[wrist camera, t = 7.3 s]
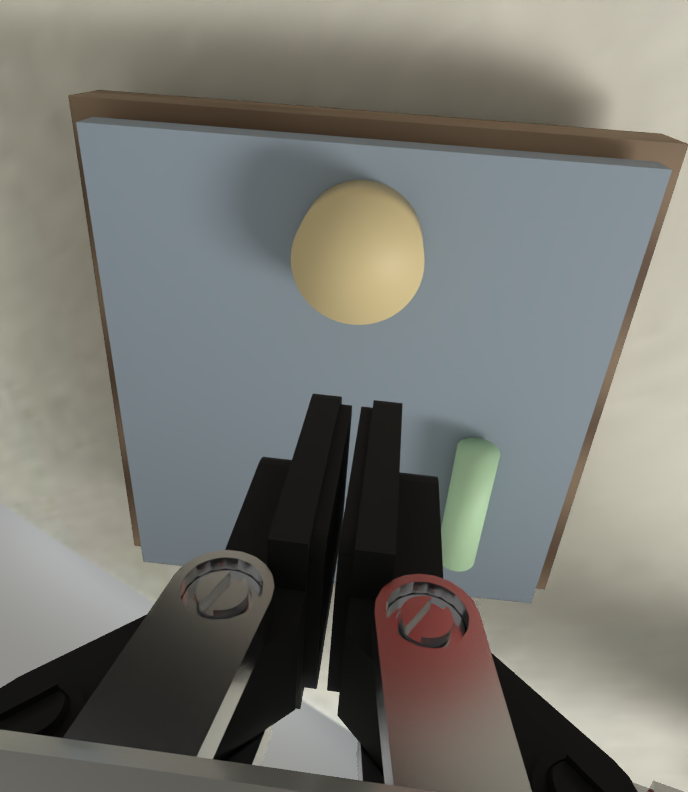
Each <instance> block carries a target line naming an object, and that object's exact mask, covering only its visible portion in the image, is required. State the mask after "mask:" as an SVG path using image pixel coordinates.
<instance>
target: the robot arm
mask: <svg viewBox="0 0 688 792" xmlns="http://www.w3.org/2000/svg"><path fill="white" fill-rule="evenodd" d="M402 404H403V403H396V402H387V401H378V400H374V401H373V408H371V407H362V406H361V412H360V418H359V424H358V430H357V436H356V443H355V449H354V455H353V461H352V468H351V474H350V480H349V486H348V493H347V499H346V505H345V511H344V503H345V491H346V478H347V466H348V454H349V442H350V430H351V418H352V405H344V404H342V397H341V396H331V395H322V394H312V397H311V400H310V403H309V407H308V410H307V413H306V416H305V419H304V423H303V426H302V429H301V432H300V436H299V439H298V442H297V445H296V448H295V452H294V455H293V458H292V460H288V459H279V458H270V457H262V458H261V460H260V462H259V464H258V466H257V469H256V471H255V474H254V477H253V479H252V482H251V484H250V487H249V489H248V492H247V495H246V497H245V500H244V502H243V505H242V507H241V510H240V513H239V515H238V518H237V520H236V523H235V525H234V528H233V531H232V533H231V536H230V538H229V541H228V543H227V546H226V549H225V550H222V551H212V552H209V553H206V554H203V555H200V556H197V557H195V558H194V559H192V560H190V561H189V562H187V563H186V564H184V565H183V566H182V567H181V568H180V569H179V570H178V571H177V573H176V574H175V575H174V576H173V578H172V579H171V581H170V582H169V583H168V585H167V586H166V588H165V589H164V591H163V592H162V594H161V595H160V597H159V598H158V599H157V601H156V602H155V604H154V605H153V607H152V608H151V610H150V611H149V613H148V614H147V615H145V616H143V617H141V618H139V619H137V620H135V621H133V622H131V623H129V624H126V625H124V626H122V627H120V628H118V629H116V630H114V631H112V632H110V633H108V634H106V635H104V636H102V637H100V638H98V639H96V640H94V641H92V642H89V643H87V644H86V645H83V646H81V647H79V648H77V649H75V650H73V651H71V652H69V653H67V654H65V655H63V656H61V657H59V658H57V659H55V660H52V661H50V662H48V663H47V664H44V665H42V666H40V667H38V668H36V669H34V670H32V671H30V672H28V673H26V674H24V675H22V676H20V677H18V678H16V679H15V680H13V681H11V682H10V683H8V684H6V685H5V686H3V687H2V688H0V792H683V791H681V790H678V789H675V788H672V787H670V786H667V785H664V784H661V783H658V782H656V781H653V782H652V784H651V786H650V788H647V787H644V786H641V785H638V784H636V783H633V782H632V781H631V779H630V778H629V776H628V775H627V774H626V773H625V772H624V771H623V770H622V769H621V768H620V767H619V766H618V764H617V763H616V762H615V761H614V760H613V759H612V758H611V757H609V756H608V755H607V754H606V753H605V752H604V751H603V750H601V749H600V748H599V747H598V746H597V745H596V744H595V743H593V742H592V741H591V740H590V739H589V738H588V737H587V736H585V735H584V734H583V733H582V732H581V731H580V730H579V729H577V728H576V727H575V726H574V725H573V724H572V723H571V722H569V721H568V720H567V719H566V718H565V717H564V716H563V715H561V714H560V713H559V712H558V711H557V710H556V709H555V708H554V707H552V706H551V705H550V704H549V703H548V702H547V701H546V700H544V699H543V698H542V697H541V696H540V695H539V694H538V693H536V692H535V691H534V690H533V689H532V688H531V687H530V686H528V685H527V684H526V683H525V682H524V681H523V680H522V679H520V678H519V677H518V676H517V675H516V674H515V673H514V672H512V671H511V670H510V669H509V668H508V667H507V666H506V665H505V664H503V663H502V662H501V661H500V660H499V659H498V658H497V657H495V656H494V655H493V654H492V653H491V651H490V648H489V644H488V641H487V637H486V634H485V631H484V627H483V624H482V620H481V617H480V614H479V612H478V610H477V607H476V605H475V603H474V601H473V600H472V599H471V598H470V597H469V596H468V595H467V594H466V592H465V591H464V590H463V589H461V588H460V587H458V586H456V585H455V584H453V583H452V582H450V581H448V580H445V579H443V560H442V540H441V519H440V498H439V481H438V477H436V476H428V475H419V474H410V473H401V472H400V451H401V428H402ZM343 515H344V517H343ZM337 559H338V562H337ZM336 565H337V574H336V586H335V599H334V611H333V624H332V636H331V648H330V661H329V673H328V686H327V690H328V691H336V692H340V695H339V705H338V717H339V718H340V719H341V720H342V722H343V723H344V724H345V725H346V726H347V728H348V729H349V730H350V731H351V732H352V734H353V735H354V736H355V737H356V738H357V740H358V745H357V767H358V780H353V779H346V778H339V777H332V776H325V775H318V774H311V773H304V772H298V771H291V770H284V769H277V768H270V767H263V766H261V763H262V761H263V758H264V755H265V752H266V750H267V747H268V745H269V742H270V738H271V733H272V726H273V724H274V723H276V722H277V721H279V720H280V719H282V718H283V717H285V716H286V715H288V714H289V713H291V712H292V711H294V710H295V708H297V709H300V707H301V702H302V696H303V691H304V687H306V688H314V689H316V688H317V684H318V678H319V672H320V665H321V659H322V653H323V646H324V640H325V634H326V628H327V621H328V615H329V609H330V602H331V596H332V590H333V584H334V577H335V571H336Z"/></svg>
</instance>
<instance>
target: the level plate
mask: <svg viewBox="0 0 688 792" xmlns="http://www.w3.org/2000/svg"><path fill="white" fill-rule="evenodd" d="M76 125H77V132H78V138H79V145H80V151H81V158H82V164H83V171H84V177H85V184H86V190H87V197H88V204H89V210H90V217H91V223H92V230H93V236H94V243H95V249H96V256H97V262H98V269H99V275H100V282H101V288H102V295H103V301H104V308H105V314H106V321H107V327H108V334H109V340H110V347H111V353H112V360H113V366H114V373H115V379H116V386H117V392H118V399H119V405H120V412H121V418H122V425H123V431H124V438H125V444H126V451H127V457H128V464H129V470H130V477H131V483H132V490H133V497H134V503H135V510H136V516H137V523H138V529H139V536H140V542H141V549H142V555H143V562H152V563H161V564H170V565H180V566H183V565H184V564H186V563H187V562H189V561H190V560H192V559H194V558H195V557H197V556H200V555H203V554H206V553H209V552H212V551H222V550H225V549H226V546H227V543H228V541H229V538H230V536H231V533H232V531H233V528H234V525H235V523H236V520H237V518H238V515H239V513H240V510H241V507H242V505H243V502H244V500H245V497H246V495H247V492H248V489H249V487H250V484H251V482H252V479H253V477H254V474H255V471H256V469H257V466H258V464H259V462H260V460H261V458H262V457H270V458H279V459H288V460H292V458H293V455H294V452H295V448H296V445H297V442H298V439H299V436H300V432H301V429H302V426H303V423H304V419H305V416H306V413H307V410H308V407H309V403H310V400H311V397H312V394H322V395H331V396H341V397H342V404H344V405H352V418H351V430H350V442H349V454H348V466H347V478H346V491H345V503H344V511H345V505H346V499H347V493H348V486H349V480H350V474H351V468H352V461H353V455H354V449H355V443H356V436H357V430H358V424H359V418H360V412H361V406H362V407H371V408H373V401H374V400H378V401H387V402H396V403H403V404H402V428H401V451H400V472H401V473H410V474H419V475H428V476H436V477H438V481H439V498H440V519H441V540H442V560H443V579H445V580H448V581H450V582H452V583H453V584H455V585H456V586H458V587H460V588H461V589H463V590H464V591H465V592H466V594H467V595H468V596H469V597H478V598H487V599H497V600H506V601H515V602H525V603H531V602H532V599H533V596H534V592H535V589H536V586H537V583H538V580H539V577H540V574H541V571H542V568H543V565H544V562H545V559H546V556H547V553H548V550H549V546H550V543H551V540H552V537H553V534H554V531H555V528H556V525H557V522H558V519H559V516H560V513H561V510H562V507H563V503H564V500H565V497H566V494H567V491H568V488H569V485H570V482H571V479H572V476H573V473H574V470H575V467H576V464H577V461H578V457H579V454H580V451H581V448H582V445H583V442H584V439H585V436H586V433H587V430H588V427H589V424H590V421H591V418H592V414H593V411H594V408H595V405H596V402H597V399H598V396H599V393H600V390H601V387H602V384H603V381H604V378H605V375H606V371H607V368H608V365H609V362H610V359H611V356H612V353H613V350H614V347H615V344H616V341H617V338H618V335H619V332H620V329H621V325H622V322H623V319H624V316H625V313H626V310H627V307H628V304H629V301H630V298H631V295H632V292H633V289H634V286H635V282H636V279H637V276H638V273H639V270H640V267H641V264H642V261H643V258H644V255H645V252H646V249H647V246H648V243H649V240H650V236H651V233H652V230H653V227H654V224H655V221H656V218H657V215H658V212H659V209H660V206H661V203H662V200H663V197H664V193H665V190H666V187H667V184H668V181H669V178H670V175H671V172H672V169H670V168H668V167H666V166H665V165H663V164H661V163H659V162H655V161H642V160H630V159H617V158H605V157H592V156H579V155H567V154H554V153H542V152H529V151H517V150H504V149H491V148H479V147H466V146H454V145H441V144H429V143H416V142H403V141H391V140H378V139H366V138H353V137H341V136H328V135H315V134H303V133H290V132H278V131H265V130H253V129H240V128H227V127H215V126H202V125H190V124H177V123H165V122H152V121H139V120H127V119H114V118H102V117H91V118H87V119H84V120H81V121H78V122H76ZM343 517H344V515H343ZM337 562H338V559H337ZM336 574H337V565H336V571H335V577H334V582H336Z"/></svg>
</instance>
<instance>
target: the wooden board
mask: <svg viewBox="0 0 688 792" xmlns="http://www.w3.org/2000/svg"><path fill="white" fill-rule="evenodd" d="M69 102H70V109H71V116H72V123H73V129H74V136H75V143H76V150H77V157H78V163H79V170H80V177H81V184H82V191H83V197H84V204H85V211H86V218H87V225H88V231H89V238H90V245H91V252H92V258H93V265H94V272H95V279H96V286H97V292H98V299H99V306H100V313H101V320H102V326H103V333H104V340H105V347H106V354H107V360H108V367H109V374H110V381H111V388H112V394H113V401H114V408H115V415H116V422H117V428H118V435H119V442H120V449H121V456H122V462H123V469H124V476H125V483H126V490H127V496H128V503H129V510H130V517H131V524H132V530H133V537H134V544H135V546H141V542H140V536H139V529H138V523H137V516H136V510H135V503H134V497H133V490H132V483H131V477H130V470H129V464H128V457H127V451H126V444H125V438H124V431H123V425H122V418H121V412H120V405H119V399H118V392H117V386H116V379H115V373H114V366H113V360H112V353H111V347H110V340H109V334H108V327H107V321H106V314H105V308H104V301H103V295H102V288H101V282H100V275H99V269H98V262H97V256H96V249H95V243H94V236H93V230H92V223H91V217H90V210H89V204H88V197H87V190H86V184H85V177H84V171H83V164H82V158H81V151H80V145H79V138H78V132H77V125H76V122H78V121H81V120H84V119H87V118H91V117H102V118H114V119H127V120H139V121H152V122H165V123H177V124H190V125H202V126H215V127H227V128H240V129H253V130H265V131H278V132H290V133H303V134H315V135H328V136H341V137H353V138H366V139H378V140H391V141H403V142H416V143H429V144H441V145H454V146H466V147H479V148H491V149H504V150H517V151H529V152H542V153H554V154H567V155H579V156H592V157H605V158H617V159H630V160H642V161H655V162H659V163H661V164H663V165H665V166H666V167H668V168H670V169H672V172H671V175H670V178H669V181H668V184H667V187H666V190H665V193H664V197H663V200H662V203H661V206H660V209H659V212H658V215H657V218H656V221H655V224H654V227H653V230H652V233H651V236H650V240H649V243H648V246H647V249H646V252H645V255H644V258H643V261H642V264H641V267H640V270H639V273H638V276H637V279H636V282H635V286H634V289H633V292H632V295H631V298H630V301H629V304H628V307H627V310H626V313H625V316H624V319H623V322H622V325H621V329H620V332H619V335H618V338H617V341H616V344H615V347H614V350H613V353H612V356H611V359H610V362H609V365H608V368H607V371H606V375H605V378H604V381H603V384H602V387H601V390H600V393H599V396H598V399H597V402H596V405H595V408H594V411H593V414H592V418H591V421H590V424H589V427H588V430H587V433H586V436H585V439H584V442H583V445H582V448H581V451H580V454H579V457H578V461H577V464H576V467H575V470H574V473H573V476H572V479H571V482H570V485H569V488H568V491H567V494H566V497H565V500H564V503H563V507H562V510H561V513H560V516H559V519H558V522H557V525H556V528H555V531H554V534H553V537H552V540H551V543H550V546H549V550H548V553H547V556H546V559H545V562H544V565H543V568H542V571H541V574H540V577H539V580H538V583H537V586H536V588H538V589H545V587H546V583H547V580H548V577H549V574H550V571H551V568H552V565H553V562H554V559H555V556H556V553H557V549H558V546H559V543H560V540H561V537H562V534H563V531H564V528H565V525H566V522H567V519H568V515H569V512H570V509H571V506H572V503H573V500H574V497H575V494H576V491H577V488H578V485H579V481H580V478H581V475H582V472H583V469H584V466H585V463H586V460H587V457H588V454H589V451H590V447H591V444H592V441H593V438H594V435H595V432H596V429H597V426H598V423H599V420H600V416H601V413H602V410H603V407H604V404H605V401H606V398H607V395H608V392H609V389H610V386H611V382H612V379H613V376H614V373H615V370H616V367H617V364H618V361H619V358H620V355H621V352H622V348H623V345H624V342H625V339H626V336H627V333H628V330H629V327H630V324H631V321H632V318H633V314H634V311H635V308H636V305H637V302H638V299H639V296H640V293H641V290H642V287H643V284H644V280H645V277H646V274H647V271H648V268H649V265H650V262H651V259H652V256H653V253H654V249H655V246H656V243H657V240H658V237H659V234H660V231H661V228H662V225H663V222H664V219H665V215H666V212H667V209H668V206H669V203H670V200H671V197H672V194H673V191H674V188H675V185H676V181H677V178H678V175H679V172H680V169H681V166H682V163H683V160H684V157H685V154H686V151H687V147H688V144H687V143H684V142H682V141H679V140H676V139H674V138H671V137H668V136H666V135H663V134H658V133H645V132H632V131H619V130H607V129H594V128H581V127H568V126H555V125H542V124H529V123H517V122H504V121H491V120H478V119H465V118H452V117H439V116H427V115H414V114H401V113H388V112H375V111H362V110H350V109H337V108H324V107H311V106H298V105H285V104H272V103H260V102H247V101H234V100H221V99H208V98H195V97H182V96H170V95H157V94H144V93H131V92H118V91H105V90H97V91H91V92H86V93H80V94H75V95H69Z"/></svg>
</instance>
